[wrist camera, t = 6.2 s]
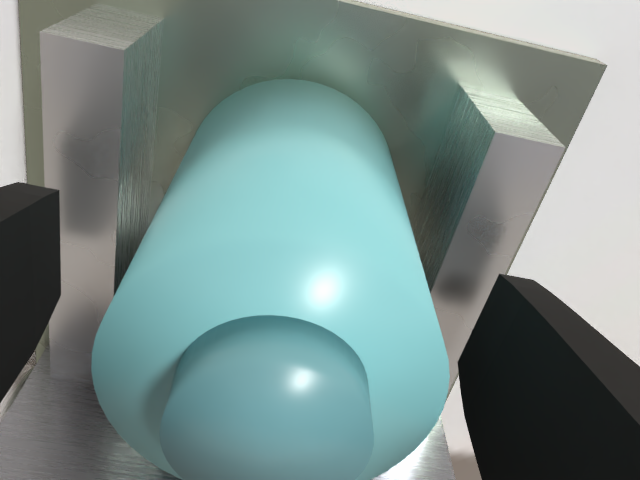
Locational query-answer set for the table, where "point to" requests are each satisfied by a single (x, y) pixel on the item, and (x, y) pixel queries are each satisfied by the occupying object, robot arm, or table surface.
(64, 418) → the motor
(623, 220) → the table surface
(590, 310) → the table surface
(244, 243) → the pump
